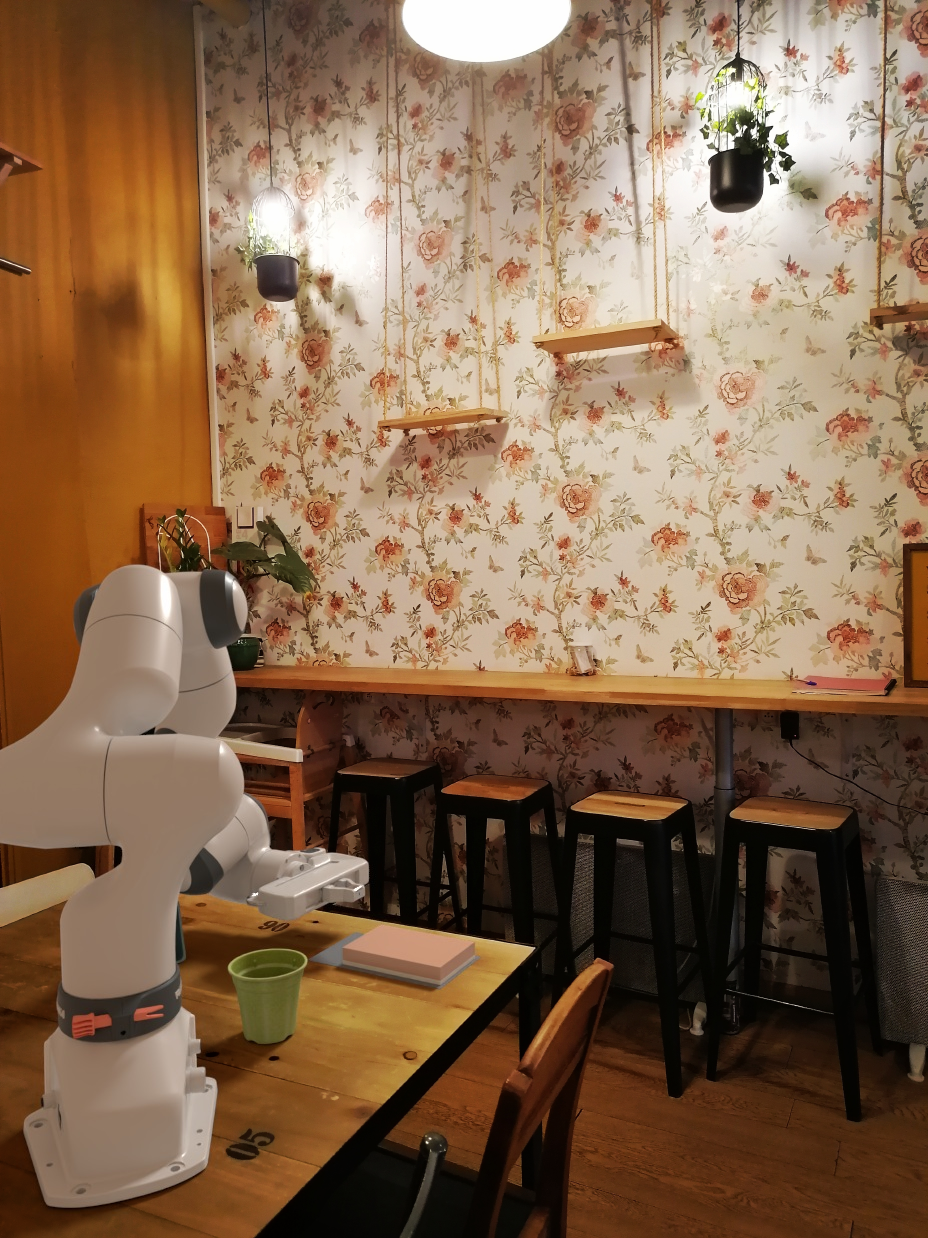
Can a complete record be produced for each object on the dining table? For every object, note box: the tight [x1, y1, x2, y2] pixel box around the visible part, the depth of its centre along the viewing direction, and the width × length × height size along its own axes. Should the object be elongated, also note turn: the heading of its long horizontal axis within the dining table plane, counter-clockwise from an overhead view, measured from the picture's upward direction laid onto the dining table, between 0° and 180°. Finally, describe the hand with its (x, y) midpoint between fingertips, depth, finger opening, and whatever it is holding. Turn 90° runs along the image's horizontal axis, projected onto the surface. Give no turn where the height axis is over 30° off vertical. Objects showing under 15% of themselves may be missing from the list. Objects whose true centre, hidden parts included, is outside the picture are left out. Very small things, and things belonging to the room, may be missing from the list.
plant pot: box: [227, 948, 308, 1045], centre depth 113 cm, size 9×9×9 cm
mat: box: [307, 931, 482, 990], centre depth 134 cm, size 22×12×1 cm, turn 62°
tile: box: [342, 924, 476, 985], centre depth 133 cm, size 2×10×16 cm
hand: (359, 894), depth 137 cm, fingers closed
